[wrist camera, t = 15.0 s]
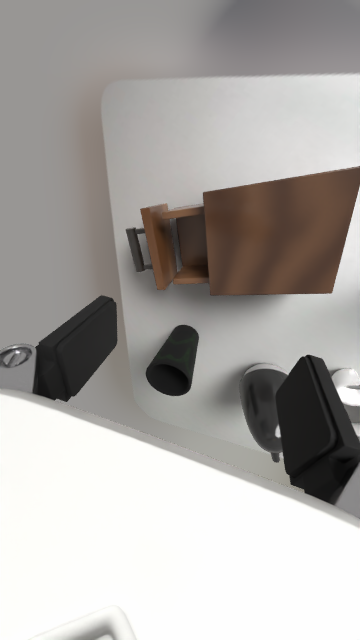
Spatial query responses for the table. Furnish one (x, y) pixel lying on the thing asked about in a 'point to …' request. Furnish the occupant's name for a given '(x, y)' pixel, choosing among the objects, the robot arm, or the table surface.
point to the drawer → (163, 248)
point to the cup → (174, 362)
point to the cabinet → (279, 233)
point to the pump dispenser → (263, 405)
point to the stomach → (348, 390)
